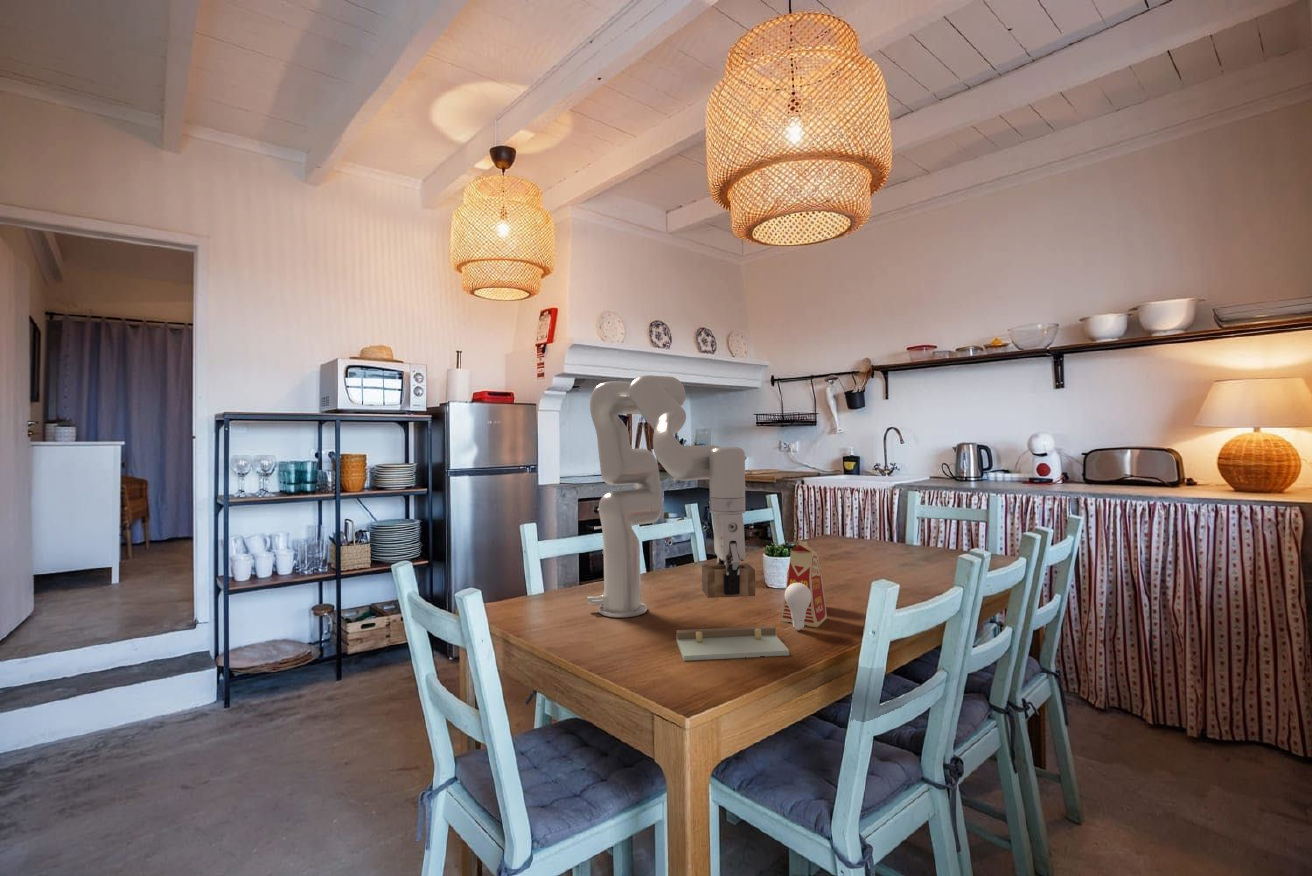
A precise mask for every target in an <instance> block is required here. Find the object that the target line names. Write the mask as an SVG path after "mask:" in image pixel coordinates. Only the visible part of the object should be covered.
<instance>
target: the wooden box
mask: <svg viewBox="0 0 1312 876" xmlns="http://www.w3.org/2000/svg"><path fill="white" fill-rule="evenodd" d="M729 565H730V564H728V568H729ZM739 572H740V574H739V575H740V593H739V594H733V595H725V594H724V575H726V574H725V564H717V563H709V564H701V577H702V578H701V580H702V583H701V584H702V585H701V589H702V592H703V593H704V595H705V597H707V598H708V599H713V598H715V599H717V598H738V597H739V598H740V597H741V598H742V597H743V598H744V597H756V569H755V568H753V567H752V566H751V565H750V564H749V562H748V563H747V562H742V563H740V562H739Z"/></svg>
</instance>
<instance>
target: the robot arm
mask: <svg viewBox="0 0 1312 876" xmlns="http://www.w3.org/2000/svg"><path fill="white" fill-rule="evenodd" d="M685 400H686V389H685V387H684V385H683V383H682V381H680V380H679V379H678V378H676V377H674V376H670V375H668V376H667V375H666V376H665V375H653V374H651V375H641V376H639V377H636V378H635V379H634V380H632V381H621V380H615V381H614V380H613V381H612V380H611V381H606V382H602V383H599V384H598V385H596V386H595V387H594V389H593V391H592V393H591V396H590V401H589V409H590V410H589V411H590V416H591V418H592V419H591V420H592V423H593V426H594V430H595V433H596V439H597V440H596V441H597V449H598V459H599V468H600V474H601V475H600V476H601V479H602V481H603V482H604V483H605V484H607V485H610V486H624V485H634V486H635V488H634V489H633V488H632V489H631V488H630V489H629V488H628V489H621V490H620V489H619V490H613V491H610V492H607V493H605V494H604V495H602V497H601V498H600V500H599V503H598V515H599V520H600V524H601V530H602V542H603V543H602V544H603V545H602V546H603V547H602V549H603V581H604V582H603V583H604V584H603V586H604V587H603V589H604V590H603V592H602V594H600V595H598V596H586V597H587V598H586V601H587V603H586V604H587V605H591V606H599V607H598V612H599V614H601V615H602V616H605V617H609V618H632V617H638V616H640V615H642V614H645V613H646V612H647V611H648V606H647V604H646V603H644V602H642V594H641V593H642V591H641V586H642V585H641V583H642V582H641V581H642V580H641V547H640V546H641V545H640V540H639V537H638V536H637V534H636V532H635V531H634V528H633V527H634V526H639V525H640V526H641V525H647V524H652V523H655V522H657V521H658V520H659V519H660V518H661V516H662V512H663V498H662V497H663V496H662V495H663V494H662V488H661V478H660V470H659V469H660V468H659V464H658V462H659V463H660V464H661V466H662V467H663V469H665V471H666V472H667V474H668V475H669V476H671V478H672V479H676V480H677V481H681V482H683V481H684V482H686V481H697V480H698V481H700V480H702V481H703V480H709V513H710V514H713V516H714V518H713V546H714V547H713V548H714V553H715V555H716V557H717V558H716V559H717V560H716V564H725V574H726V575H724V594H725V595H733V594H739V593H740V575H739V574H740V572H739V563H740V561H741V562H745V560H746V540H745V526H744V523H745V522H744V518H743V516H744V515H743V514H745V513H746V454H745V453H746V452H745V451H744V449H742V448H741V447H737V446H719V445H715V444H714V445H713V444H712V445H711V444H710V445H708V444H707V445H700V444H699V445H696V444H695V445H682V444H681V443H680V441H679V440H678V439H677V438H676V437H675V436H674V435H676V434H677V433H678V432H679V431H680V430H682V428H683V427H684V426H685V423H686V420H687V414H686V411H685V409H684V408H683V407H682V406H683V405H684V403H685V402H686V401H685ZM622 414H623V415H642V416H643V418H644V419H645V420H646V422H648V424H649V426H650V427H651V429H653V430H654V431H653V435H652V447H653V452H654V454H653V452H652V451H650V450H649V449H646V448H632V446H631V441H630V440H631V439H630V433H629V430H628V428H627V426H626V424H625V423H624V420H622V419H621V418H620V417H619V415H622ZM657 461H658V462H657ZM728 564H730V565H729V568H728Z"/></svg>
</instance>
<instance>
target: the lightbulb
mask: <svg viewBox="0 0 1312 876" xmlns="http://www.w3.org/2000/svg"><path fill="white" fill-rule="evenodd" d="M811 598H812V595H811V592H810V590H809V588H808V587H807V586H806V585H804V584H802V583H793V584H791V585H789V586H788V587H787V589H786V588H785V591H784V599H785V600H786V602H787V605H788V606H789V608H790V611H791V617H792V619H793V623H792V627H793V629H795V630H796V631H801V630H803V629H804V628H805V625H804V620H805V615H806V610H807V608H808V606H809V604H810V602H811Z"/></svg>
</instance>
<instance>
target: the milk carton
mask: <svg viewBox="0 0 1312 876" xmlns="http://www.w3.org/2000/svg"><path fill="white" fill-rule="evenodd" d="M820 569H821V566H820V560H819V555H818V553H817V552H816V551H815V550H813V549H812V548H811V547H810V546H809V545H808V541H803V540H802V539H798V545H797V546H795V547H794V548H792V549H791V550H790V556H789V562H788V566H787V571H786V587H785V590H786V589H787V587H788V586H789V585H791V584H793V583H802V584H804V585H806V586H807V587H808V588H809V590H810V592H811V595H812V598H811V602H810V604H809V606H808V608H807V610H806V615H805V620H804V626H806V625H807V627H813V628H818V627H819V626H820V625H822V624H823V622H824V621H825V620H827V619H828V616H827V604H826V598H825V591H824V584H823V576H822V570H820ZM780 617H781V618H780V622H784V623H788V622H791V623H790V624H793V619H792V617H791V611H790V608H789V606H788V605H787V602H786V600H785V598H784V600H783V606H782V611H781V616H780Z"/></svg>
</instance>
